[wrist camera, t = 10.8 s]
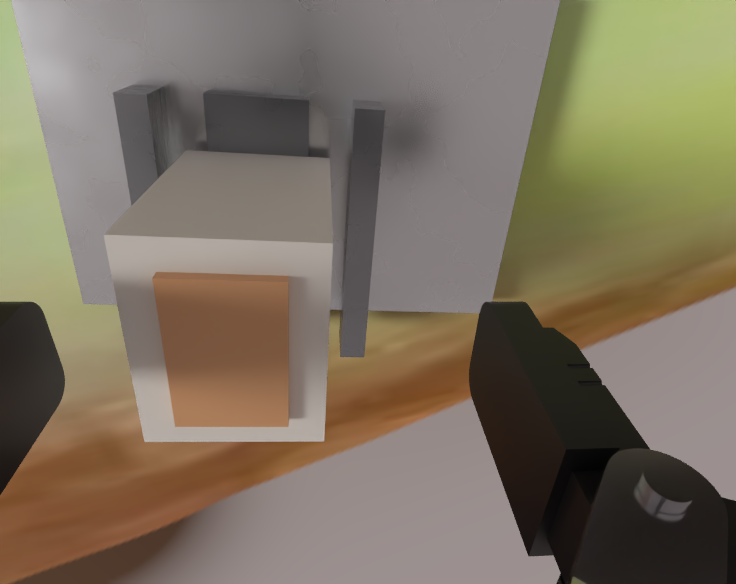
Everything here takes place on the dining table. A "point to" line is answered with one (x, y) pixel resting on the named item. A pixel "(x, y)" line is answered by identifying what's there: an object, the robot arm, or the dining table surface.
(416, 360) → the dining table surface
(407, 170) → the rail panel
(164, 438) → the block
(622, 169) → the dining table surface
